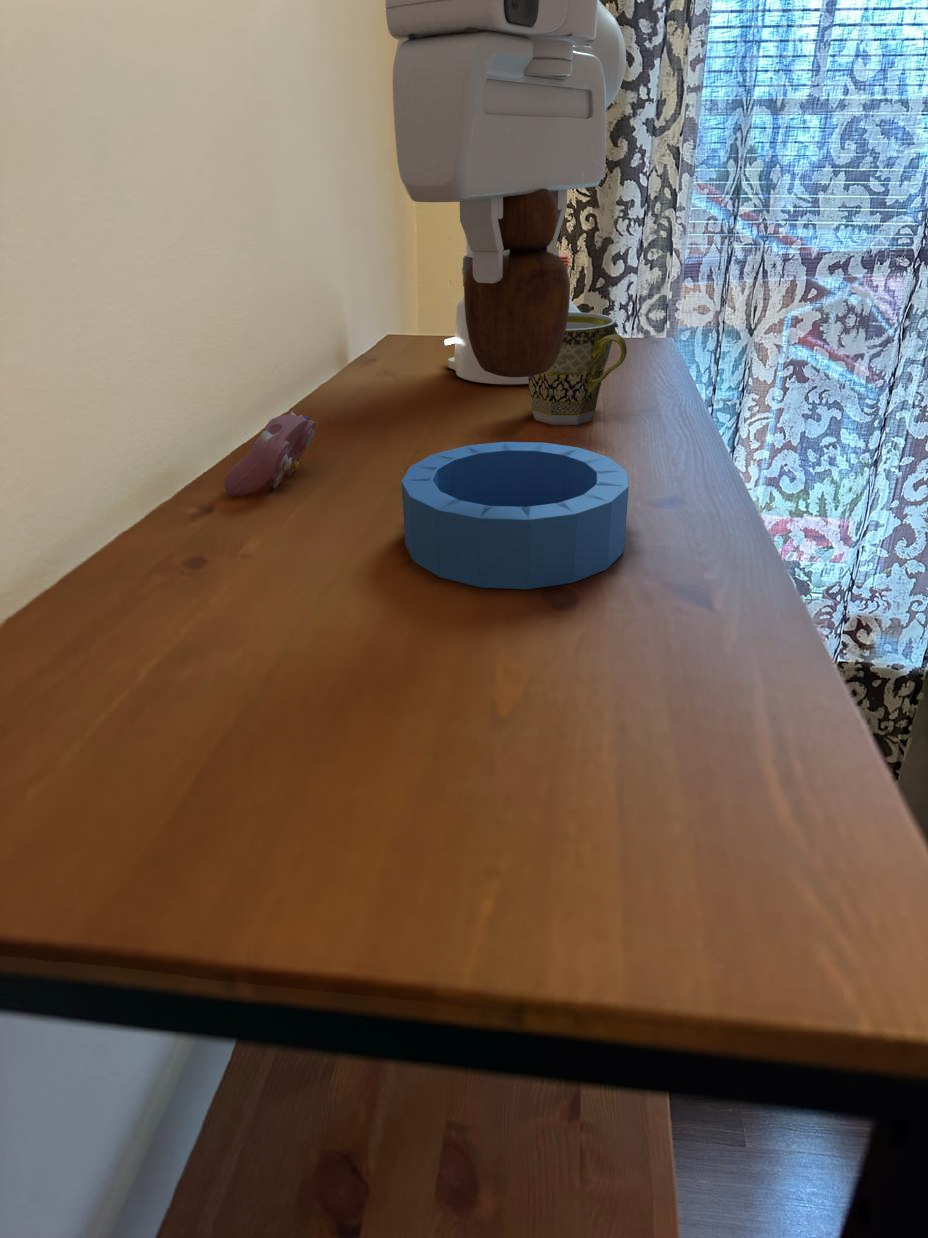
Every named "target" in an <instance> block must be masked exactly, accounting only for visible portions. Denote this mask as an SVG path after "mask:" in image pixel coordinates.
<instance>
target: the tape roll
mask: <svg viewBox="0 0 928 1238" xmlns="http://www.w3.org/2000/svg"><path fill="white" fill-rule="evenodd" d="M400 483H401V484H400V485H401V499H402V513H403V514H402V515H403V528H404V543H405V546H406V548H407V551H408V554H409V555H410V557H411V560H412V561H413V563H415V564H416V565H418V566H420V567H421V568H423V569H425V570H427V571H428V572H430V573H432V574H433V575H435V576H437V577H439V578H441V579H444V580H447V581H448V580H449V581H452V582H457V583H461V584H465V585H469V586H473V587H477V588H481V589H482V588H483V589H506V590H507V589H510V590H533V589H541V588H547V587H553V586H561V585H568V584H574V583H576V582H579V581H581V580H584V579H586V578H590V577H592V576H594V575H597V574H599V573H601V572H604V571H607V570H608V569H609V568H610V567H611V566H612V565H613V564H614V563H615V562H616V561H617V560H618V559H619V558H620V557H621V556H622V555H623V554H624V552H625V542H626V531H627V530H626V529H627V516H628V515H627V514H628V502H629V490H630V485H629V484H630V483H629V473H628V471H627V470H626V469H625V468H623V466H621V465H619V464H618V463H617V462H615V461H614V460H613V459H612V458H611V457H609V456H605V455H603V454H600V453H597V452H594V451H591V450H588V449H585V448H581V447H576V446H569V445H563V444H557V443H549V442H538V441H537V442H528V441H499V442H498V441H497V442H487V443H478V444H472V445H471V444H470V445H464V446H461V447H460V446H459V447H456V448H453V449H448V450H444V451H441V452H440V451H439V452H437V453H433V454H431V455H429V456H426V457H425V458H424V459H423V458H422V459H421V460H419V461H418V462H416V463H414V464H412V465H410V466H409V468H408V469H407V471H406V473H405V474H404V475H403V478H402V480H401V482H400Z"/></svg>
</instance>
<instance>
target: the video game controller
mask: <svg viewBox="0 0 928 1238" xmlns="http://www.w3.org/2000/svg"><path fill="white" fill-rule="evenodd" d="M316 429H317V423H316V422H315V421H313V420H312V419H310V418H309V417H308V416H306V415H302V414H299V415H297V414H295V412H294V411H291V412H290V413H288V414H281V415H278V416H276V417H273V418H271V419H270V420H269V421H268V422H267V424H266V426H265V428H264V430H263V432H262V433H261V434H260V435H259V436H258V437H257V438H256V440H255V441H254V443H253V444H252V445H251V447H250V449H249V451H248V452H246V454H245V455H244V456H243V457H242V458H241V459H240V460H239V461H238V462H237V463H235V465H233V466H231V468H230V469H229V470H228V471H227V472H226V474H225V476H224V479H223V487H224V488H223V489H224V490H225V491H226V494H228V495H229V496H232V497H243V496H247V495H250V494H252V493H254V492H256V491H257V490H258V489H259V488H261V487H262V486H264V484H266V485H267V486H269V487H271V488H273V489H276V488H277V487H278V486H279V485H280V483H281V482H282V480H283V478H284V475H286V476H291V475H292V474H293V473H294V471H297V470H298V469H299V466H300V460H301V458H302V456H303V455H304V453H305V451H306V450H307V449H308V448H309V446H310V444H311V441H312V440H313V438H314V435H315V432H316Z"/></svg>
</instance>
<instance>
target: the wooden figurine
mask: <svg viewBox="0 0 928 1238" xmlns="http://www.w3.org/2000/svg"><path fill="white" fill-rule="evenodd" d="M498 222H499V228H500V233H501V238H502V243H503V248H504V249H510V262H509V268H510V275H509V277H508V278H507V279H506V280H503V281H500V282H498V283H478V282H477V281H475V280H474V277H473V260H472V262H471V263H470V265H469V267H468V269H467V270H466V276H465V282H464V286H463V297H464V301H465V316H466V324H467V330H468V335H469V340H470V343H471V346H472V350H473V353H474V355H475V357H476V359H477V361H478V363H479V365H480V366H481V367H482V368H483V370H484V371H487V372H489V373H492V374H495V375H498V376H503V377H529V376H534V375H538V374H541V373H544V372H547V371H548V370H549V369H550V368H551V366H552V365H553V364H554V363H555V361H556V359H557V357H558V355H559V352H560V350H561V347H562V343H563V339H564V336H565V331H566V326H567V321H568V313H569V302H570V299H571V297H570V296H571V281H570V276H569V272H568V271H569V270H568V271H567V268H566V266H565V265H564V263H563V262H562V260H561V259H560V257H558V256H556V255H554V254H552V253H550V252H547V251H544V250H540V249H542V248H544V247H547V246H548V245H549V244H550V243H551V241H552V240H553V237H554V234H555V231H556V225H557V207H556V203H555V200H554V196H553V195H552V194H551V193H550V191H549V190H548V189H541V190H537V191H535V192H533V193H530V194H524V195H515V196H506V197H503V218H502V219H498Z"/></svg>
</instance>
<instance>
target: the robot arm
mask: <svg viewBox="0 0 928 1238" xmlns="http://www.w3.org/2000/svg"><path fill="white" fill-rule="evenodd" d="M385 17H386V25H387V30H388V33H389V35H390V37H392V38H393V39H395V40H398V41H397V45H396V49H395V54H394V58H393V65H392V82H391V83H392V107H393V125H394V138H395V149H396V151H395V152H396V160H397V168H398V174H399V178H400V180H401V182H402V184H403V186H404V189H405V190H406V191H405V192H406V193H407V195H408V196H409V198H410V200H412V201H413V202H415V203H459V222H460V224H461V228H462V229H463V233H464V235H465V255H464V256H463V257H462V267H461V275H462V286H463V287H464V282H465V276H466V270H467V269H468V267H469V265H470V263H471V262H472V260H473V277H474V280H475V281H477V282H478V283H498V282H500V281H503V280H506V279H507V278H508V277H509V275H510V268H509V262H510V249H504V248H503V243H502V238H501V233H500V228H499V222H498V219H502V218H503V197H506V196H515V195H524V194H530V193H533V192H535V191H537V190H541V189H548V190H549V191H550V193H551V194H552V195H553V196H554V200H555V203H556V207H557V225H556V231H555V234H554V237H553V240H552V241H551V243H550V244H549V245H548V246H547V247H544V248H542V249H540V250H544V251H547V252H550V253H552V254H554V255H556V256H558V257H560V259H561V260H562V262H563V263H564V265H565V266H566V268H567V271H569V270H570V268H569V267H570V266H571V265H570V264H571V258H570V255H569V254H568V253H567V254H566V253H565V254H564V253H563V254H558V253H557V252H558V251H557V246H558V238H559V235H560V233H561V229H562V227H563V223H564V219H565V216H566V213H567V209H568V190H576V189H585V188H586V189H587V188H593V187H598V186H599V185H600V184H601V181H602V179H603V175H604V171H605V167H606V160H607V158H606V157H607V109H608V107H609V106H610V105H611V104H612V103H613V101H614V99H615V98H616V96H617V95H618V93H619V91H620V88H621V86H622V83H623V80H624V78H625V72H626V66H627V48H626V41H625V37H624V35H623V31H622V29H621V27H620V25H619V22H618V21H617V20H616V18H615V16H613V14H612V13H611V12H610V11H609V10H608V9H607V8H606V7H605V6H604V4H603V3H602V1H600V0H385ZM569 312H581V311H580V309H579V308H578V307H577V306H576V304H575V303H574V302H573V301H572V299H571V298H570V302H569ZM455 316H456V317H455V318H456V319H455V333H454V334H455V335H454V337H450V338H446V339H444V346H448V345H452V344H454V354H453V355H454V356H453V357H449V358H447V367H448V369H451V370H453V371H454V372H455V375H456V376H457V377H459V378H461V379H462V380H467V381H470V382H475V383H482V384H492V385H529V381H528V377H503V376H498V375H495V374H492V373H489V372H487V371H484V370H483V368H482V367H481V366H480V365H479V363H478V361H477V359H476V357H475V355H474V353H473V350H472V346H471V343H470V340H469V335H468V330H467V324H466V316H465V301H464V296H463V297H462V298H461V299H460V300H459V301H458V302H457V305H456V314H455ZM615 328H619V325H618V323H617V322H616V325H615Z"/></svg>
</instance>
